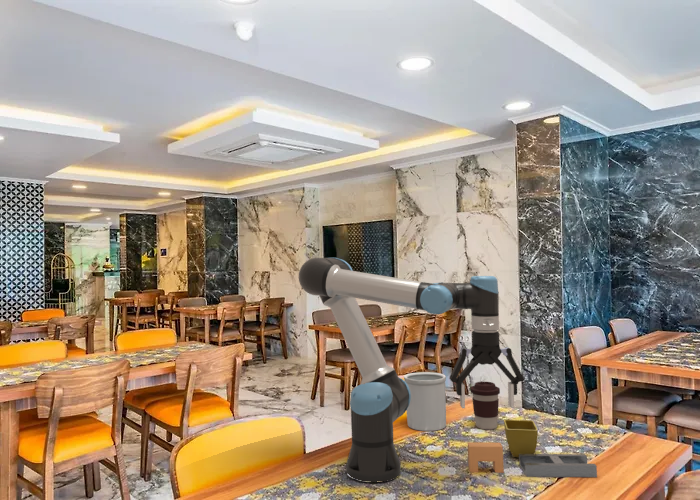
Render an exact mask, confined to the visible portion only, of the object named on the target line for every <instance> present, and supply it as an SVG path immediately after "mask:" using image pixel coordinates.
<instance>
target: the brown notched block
mask: <svg viewBox="0 0 700 500" xmlns="http://www.w3.org/2000/svg"><path fill="white" fill-rule="evenodd" d="M503 449H504V446H503V444H502V443H501V442H485V441H484V442H483V441H482V442H481V441H480V442H476V441H475V442H469V441H467V460H468V463H467V464H468V465H467V466H468V470H469V473H479V462H492V468H493V470H494V472H495V473H497V474H500V473H501V474H502V473H503V474H504V473H505V471H504V468H505V467H504V450H503Z"/></svg>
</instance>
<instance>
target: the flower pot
mask: <svg viewBox="0 0 700 500" xmlns="http://www.w3.org/2000/svg"><path fill="white" fill-rule="evenodd" d="M503 424H504V425H503V426H504V434H505V440H506V443H507V445H508V448H509V451H510V453H511V455H512V457H513V458H519V454H536V450H537V446H538V445H537V444H538V435H539V433H538V432H539V429H538V427H537V425H536V423H535V421H534V420H528V419H527V420H524V419H523V420H522V419H504V420H503Z"/></svg>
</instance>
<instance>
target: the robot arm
mask: <svg viewBox="0 0 700 500" xmlns="http://www.w3.org/2000/svg"><path fill="white" fill-rule="evenodd" d="M298 282H299V285H300V287H301V289H303V291H305V292H306V293H307V294H308V295H312V296H319V298H320V300H321V302H322V304H323V306H325V307H328V308H330V310H331V313H332V315H333V317H334V319H335V322H336V323H337V326H338V328H339V330H340V332H341V335H342V336H343V338H344V340H345V343H346V344H347V347H348V350H349V351H350V354H351V356H352V359H353V360H354V362H355V364H356V366H357V368H358V369H357V370H358V371H359V373H360V376H361V378H362V379H361V381H360V384H359V385H357V386H355V387H354V388H353V389H352V390H351V391H350V393H351V394H350V400H349V406H350V426H351V447H350V449H349V453H348V457H347V460H346V465H345V467H346V471H347V472H346V474H347V473H348V474H349V475H350V476H351V477H353V478H355V479H358V480H362V481H371V482H377V481H387V480H390V481H392V480H391V479H393V478H395V479H397V478H398V477H399V476H400V475H401V472H402V470H401V469H402V466H401V461H400V458H399V455H398V453H397V450H396V446H395V444H394V442H395V441H394V422H395V421H397V419H399V418H400V417H402V416H403V415H404V414H405V413H407V408H408V407H409V404H410V401H411V392H410V389H409V386H408V385H407V383H406V382H405V381H404V378H401V377H400V376H399V375H398V373H397V372H396V369H395V367H392V366H390V365H388V364H387V362H386V359H385V357H384V355H383V354H382V352H381V349H380V347H379V345H378V342H377V341H376V338H375V336H374V335H373V332H372V330H371V327H370V326H369V323H368V321H367V320H366V318H365V316H364V313H363V312H362V309H361V307H360V305H359V303H358V301H357V299H360V300H365V301H371V302H376V303H382V304H388V305H392V306H399V307H404V308H409V309H410V308H411V309H417V310H421V311H425V312H426V313H428V314H432V315H442V314H444V313H446V312H448V311H451V310H470V311H471V312H470V314H471V315H470V316H471V319H470V320H471V330H473V331H471V347H470V348H465V347H461V348H460V350H459V351H460V352H459V357H458V358H457V361H456V363H455V365H454V367H453V369H452V371H451V373H450V375H449V378H448V379H449V380H450V381H451V382H452V383H455V385H456V387H455V390H456V395H457V396H458V397H459V406H460V407H461V408H462V409H465V408H466V397H465V396H466V395H465V394H466V393H465V384H464V381H465V380H466V379H467V377H468V376H469V375H470V373H472V371H473V370H475V368H476V367H477V366H478V364H480V365H481V366H482V365H483V366H484V365H493V364H496V366H497V367H498V368H499V369H500V370H501V372H502V373H503V374H504V375H505V376H506V377H507V378H508V379H509V381H508V382H507V392H508V393H507V394H508V395H507V396H508V397H507V401H508V406H509V408H511V409H515V396H517V395H518V384H519V383H520V382H524V380H525V378H524V376H523V374H522V372H521V370H520V368H519V367H518V365H517V363H516V361H515V359H514V357H513V352H512V349H511V348H510V347H507V346H506V347H504V348H501V347H500V332H499V329H500V319H499V317H500V316H499V312H500V311H499V309H500V307H499V306H500V305H499V302H500V301H499V299H500V298H499V284H498V278H497V277H496V276H494V275H473V276H471V277H470V281H469V282H441V281H440V282H433V283H431V282H425V281H418V280H412V279H406V278H398V277H394V276H393V277H392V276H387V275H381V274H376V273H375V274H374V273H367V272H362V271H361V272H360V271H355V270H353V268H352V266H351V265H350V264H349V263H348V262H347V261H346V260H344V259H341V258H338V257H313V258H310V259H307V260H306V261H305V262H304V263H303V264H302V265H301V267H300V268H299V272H298ZM469 354H471V356H472V357H471V359H470V360H469V363H467V365H466V366H465V367H464V368H463V370H462V371H461V369H462V367H463V366H464V363H465V361H466V359H467V357H468V356H469ZM501 355H503V356H504V357H506V359H507V362H508V363H509V365H510V367H511V369H512V371H513V373H514V375H513V374H512V373H511V372H510V370H508V368H507V367H506V366H505V365H504V364H503V362H502V361H501V360H500V358H499V357H500V356H501ZM460 371H461V372H460ZM397 476H398V477H397ZM396 477H397V478H396ZM393 480H394V479H393ZM387 482H388V481H387Z"/></svg>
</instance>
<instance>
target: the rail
mask: <svg viewBox="0 0 700 500" xmlns="http://www.w3.org/2000/svg"><path fill="white" fill-rule="evenodd" d="M518 461H519V464H518V465H519V466H520V468H521V469H522V471H523V473H524V475H525V476H526V477H527V478H528V477H529V478H531V477H532V478H533V477H535V478H536V477H538V478H539V477H540V478H541V477H544V478H548V477H549V478H598V471H597V468H598V467H597V465H596V463H588V456H587V454H586V453H585V454H584V453H579V454H576V453H534V454H519V457H518Z"/></svg>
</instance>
